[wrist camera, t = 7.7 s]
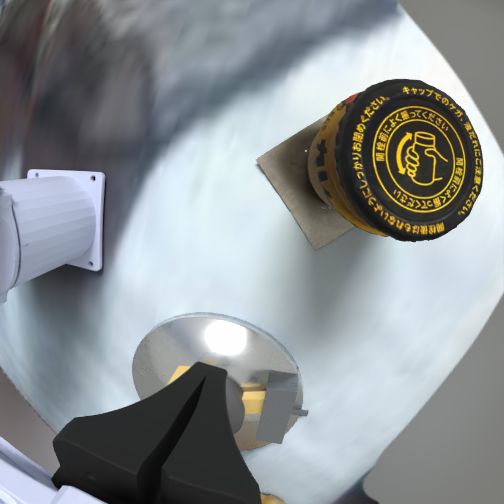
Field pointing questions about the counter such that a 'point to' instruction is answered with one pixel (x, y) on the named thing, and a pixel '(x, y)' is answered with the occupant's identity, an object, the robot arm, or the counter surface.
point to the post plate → (233, 360)
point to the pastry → (270, 499)
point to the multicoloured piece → (235, 400)
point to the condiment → (381, 166)
